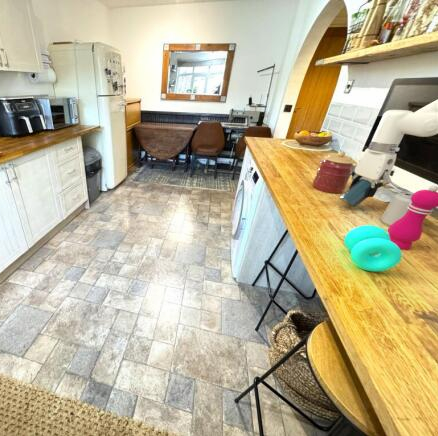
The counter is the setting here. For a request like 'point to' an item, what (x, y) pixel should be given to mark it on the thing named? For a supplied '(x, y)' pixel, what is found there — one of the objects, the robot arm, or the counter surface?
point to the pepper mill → (413, 218)
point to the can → (397, 207)
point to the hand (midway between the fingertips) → (360, 192)
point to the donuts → (372, 248)
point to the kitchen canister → (333, 173)
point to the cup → (356, 193)
